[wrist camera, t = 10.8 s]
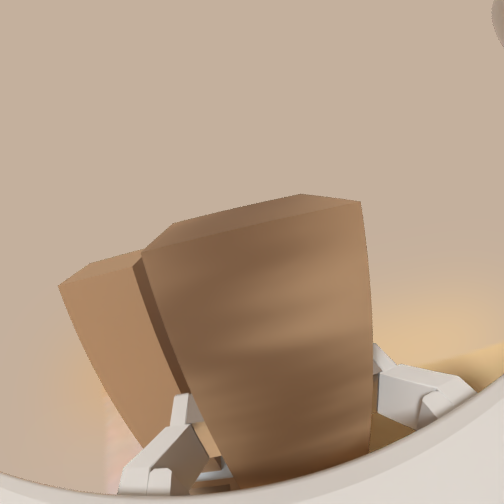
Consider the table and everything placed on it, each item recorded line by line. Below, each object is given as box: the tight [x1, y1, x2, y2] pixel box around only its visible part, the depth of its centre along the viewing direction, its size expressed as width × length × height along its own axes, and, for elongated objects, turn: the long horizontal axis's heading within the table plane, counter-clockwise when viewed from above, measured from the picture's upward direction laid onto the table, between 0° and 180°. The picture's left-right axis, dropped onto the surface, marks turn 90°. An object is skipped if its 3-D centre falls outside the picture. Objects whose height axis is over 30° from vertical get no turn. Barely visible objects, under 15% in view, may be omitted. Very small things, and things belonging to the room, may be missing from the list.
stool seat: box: [58, 249, 240, 495], centre depth 12 cm, size 13×14×16 cm
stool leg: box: [141, 194, 373, 489], centre depth 9 cm, size 4×4×14 cm
